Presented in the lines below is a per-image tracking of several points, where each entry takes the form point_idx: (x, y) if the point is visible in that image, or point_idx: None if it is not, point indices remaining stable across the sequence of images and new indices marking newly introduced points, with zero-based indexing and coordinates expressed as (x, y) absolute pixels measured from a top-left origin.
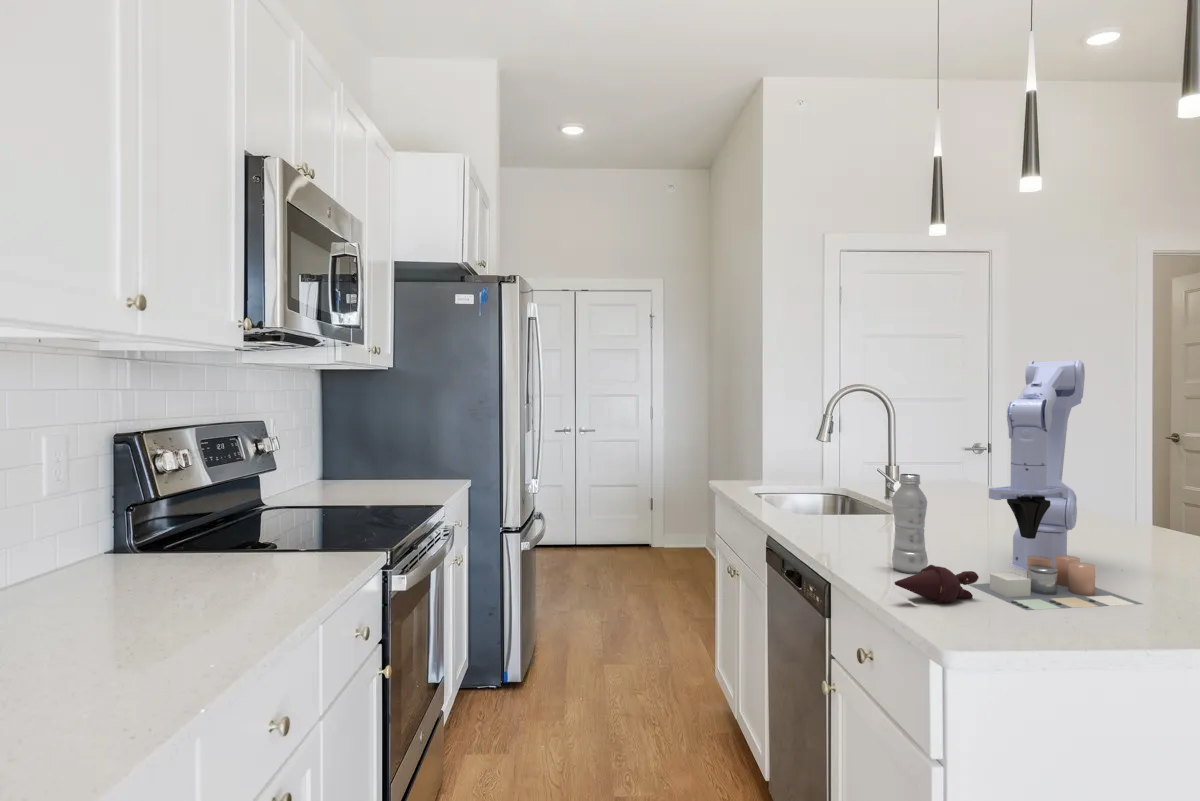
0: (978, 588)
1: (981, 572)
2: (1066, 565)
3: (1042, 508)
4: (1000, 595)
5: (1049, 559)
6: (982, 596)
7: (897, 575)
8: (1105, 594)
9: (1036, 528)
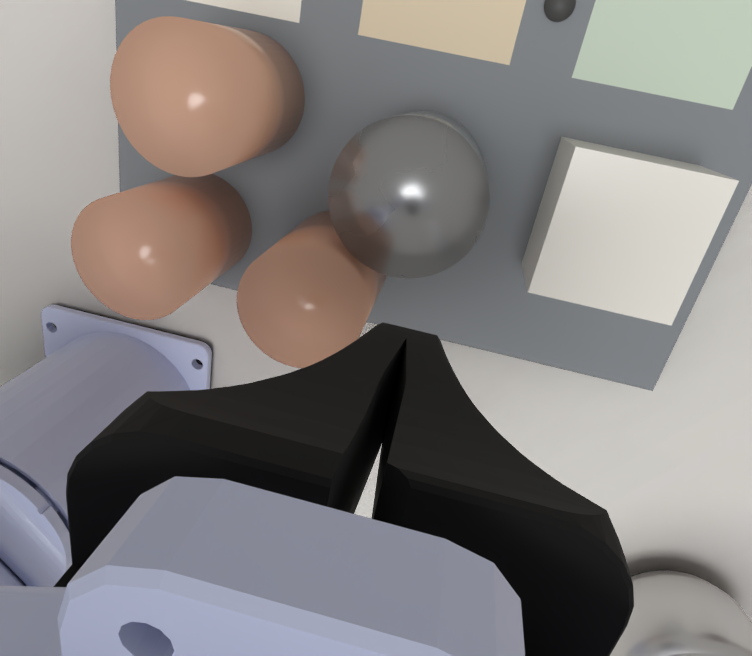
0: (674, 328)
1: (370, 496)
2: (190, 218)
3: (292, 415)
4: None
5: (266, 269)
6: (730, 263)
7: (744, 604)
8: None
9: (371, 345)
